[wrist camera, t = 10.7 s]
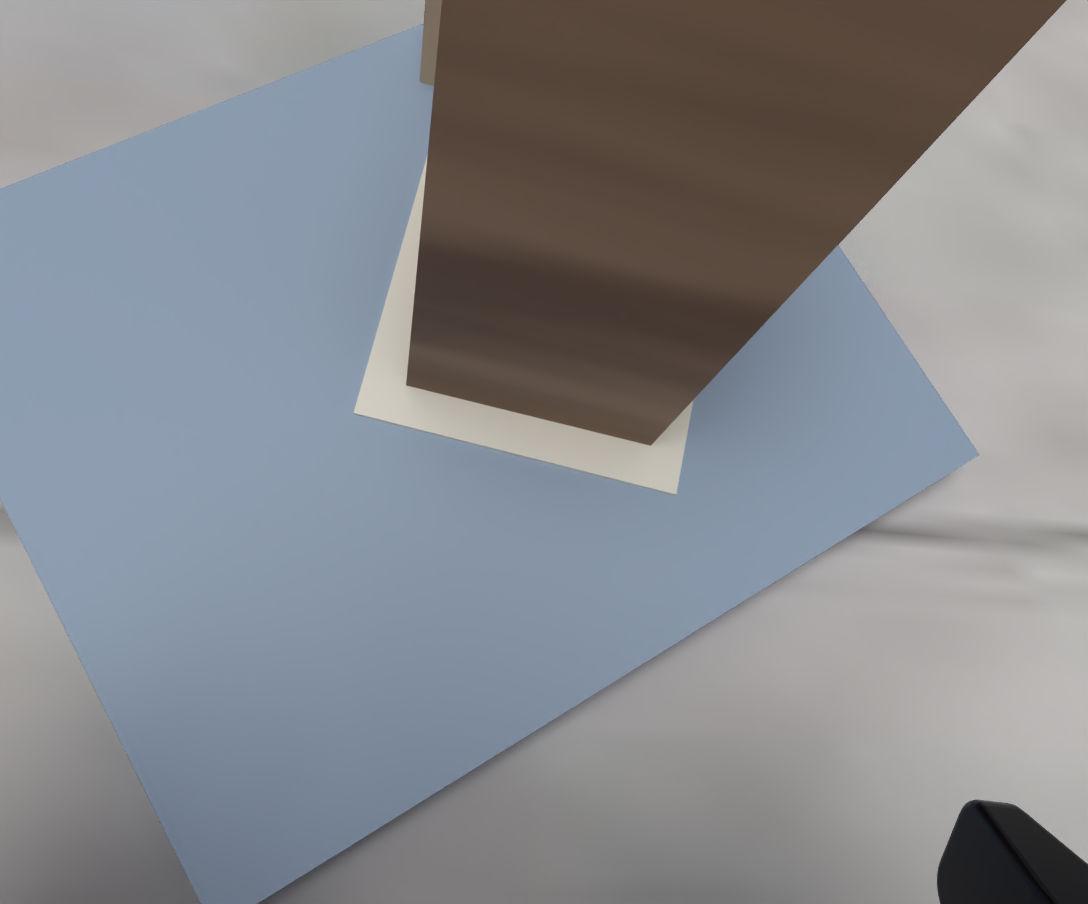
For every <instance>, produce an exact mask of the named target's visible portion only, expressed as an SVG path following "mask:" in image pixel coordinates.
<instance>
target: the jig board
mask: <svg viewBox="0 0 1088 904" xmlns="http://www.w3.org/2000/svg"><path fill="white" fill-rule="evenodd" d="M441 6H442V0H425V12H424V24H421V25H419V26H416V27H413V28H411V29H408V30H406V31H403V32H401V33H398V34H396V35H393V36H390V37H388V38H385V39H383V40H380V41H378V42H375V43H372V44H370V45H367V46H365V47H362V48H360V49H357V50H355V51H352V52H349V53H347V54H344V55H342V56H339V57H337V58H334V59H332V60H329V61H326V62H324V63H321V64H319V65H316V66H314V67H311V68H308V69H306V70H303V71H301V72H298V73H296V74H293V75H291V76H288V77H285V78H283V79H280V80H278V81H275V82H273V83H270V84H268V85H265V86H262V87H260V88H257V89H255V90H252V91H250V92H247V93H244V94H242V95H239V96H237V97H234V98H232V99H229V100H227V101H224V102H221V103H219V104H216V105H214V106H211V107H209V108H206V109H204V110H201V111H198V112H196V113H193V114H191V115H188V116H186V117H183V118H180V119H178V120H175V121H173V122H170V123H168V124H165V125H163V126H160V127H157V128H155V129H152V130H150V131H147V132H145V133H142V134H140V135H137V136H134V137H132V138H129V139H127V140H124V141H122V142H119V143H116V144H114V145H111V146H109V147H106V148H104V149H101V150H99V151H96V152H93V153H91V154H88V155H86V156H83V157H81V158H78V159H75V160H73V161H70V162H68V163H65V164H63V165H60V166H58V167H55V168H52V169H50V170H47V171H45V172H42V173H40V174H37V175H35V176H32V177H29V178H27V179H24V180H22V181H19V182H17V183H14V184H11V185H9V186H6V187H4V188H1V189H0V499H1V501H2V503H3V505H4V507H5V509H6V512H7V514H8V516H9V518H10V520H11V522H12V524H13V526H14V528H15V530H16V532H17V534H18V536H19V538H20V540H21V542H22V544H23V546H24V548H25V550H26V552H27V554H28V556H29V558H30V560H31V562H32V564H33V566H34V568H35V570H36V572H37V574H38V576H39V578H40V580H41V582H42V584H43V586H44V588H45V590H46V592H47V594H48V596H49V598H50V600H51V602H52V604H53V606H54V609H55V611H56V613H57V615H58V617H59V619H60V621H61V623H62V625H63V627H64V629H65V631H66V633H67V635H68V637H69V639H70V641H71V643H72V645H73V647H74V649H75V651H76V653H77V655H78V657H79V659H80V661H81V663H82V665H83V667H84V669H85V671H86V673H87V675H88V677H89V679H90V681H91V683H92V685H93V687H94V689H95V691H96V693H97V695H98V697H99V699H100V701H101V703H102V706H103V708H104V710H105V712H106V714H107V716H108V718H109V720H110V722H111V724H112V726H113V728H114V730H115V732H116V734H117V736H118V738H119V740H120V742H121V744H122V746H123V748H124V750H125V752H126V754H127V756H128V758H129V760H130V762H131V764H132V766H133V768H134V770H135V772H136V774H137V776H138V778H139V780H140V782H141V784H142V786H143V788H144V790H145V792H146V794H147V796H148V798H149V800H150V802H151V805H152V807H153V809H154V811H155V813H156V815H157V817H158V819H159V821H160V823H161V825H162V827H163V829H164V831H165V833H166V835H167V837H168V839H169V841H170V843H171V845H172V847H173V849H174V851H175V853H176V855H177V857H178V859H179V861H180V863H181V865H182V867H183V869H184V871H185V873H186V875H187V877H188V879H189V881H190V883H191V885H192V887H193V889H194V891H195V893H196V895H197V897H198V899H199V902H200V904H258V903H259V902H261V901H263V900H264V899H266V898H267V897H269V896H271V895H272V894H274V893H275V892H277V891H279V890H280V889H282V888H283V887H285V886H287V885H288V884H290V883H291V882H293V881H295V880H296V879H298V878H300V877H301V876H303V875H304V874H306V873H308V872H309V871H311V870H312V869H314V868H316V867H317V866H319V865H320V864H322V863H324V862H325V861H327V860H328V859H330V858H332V857H333V856H335V855H337V854H338V853H340V852H341V851H343V850H345V849H346V848H348V847H349V846H351V845H353V844H354V843H356V842H357V841H359V840H361V839H362V838H364V837H365V836H367V835H369V834H370V833H372V832H374V831H375V830H377V829H378V828H380V827H382V826H383V825H385V824H386V823H388V822H390V821H391V820H393V819H394V818H396V817H398V816H399V815H401V814H402V813H404V812H406V811H407V810H409V809H410V808H412V807H414V806H415V805H417V804H419V803H420V802H422V801H423V800H425V799H427V798H428V797H430V796H431V795H433V794H435V793H436V792H438V791H439V790H441V789H443V788H444V787H446V786H447V785H449V784H451V783H452V782H454V781H456V780H457V779H459V778H460V777H462V776H464V775H465V774H467V773H468V772H470V771H472V770H473V769H475V768H476V767H478V766H480V765H481V764H483V763H484V762H486V761H488V760H489V759H491V758H493V757H494V756H496V755H497V754H499V753H501V752H502V751H504V750H505V749H507V748H509V747H510V746H512V745H513V744H515V743H517V742H518V741H520V740H521V739H523V738H525V737H526V736H528V735H529V734H531V733H533V732H534V731H536V730H538V729H539V728H541V727H542V726H544V725H546V724H547V723H549V722H550V721H552V720H554V719H555V718H557V717H558V716H560V715H562V714H563V713H565V712H566V711H568V710H570V709H571V708H573V707H575V706H576V705H578V704H579V703H581V702H583V701H584V700H586V699H587V698H589V697H591V696H592V695H594V694H595V693H597V692H599V691H600V690H602V689H603V688H605V687H607V686H608V685H610V684H612V683H613V682H615V681H616V680H618V679H620V678H621V677H623V676H624V675H626V674H628V673H629V672H631V671H632V670H634V669H636V668H637V667H639V666H640V665H642V664H644V663H645V662H647V661H649V660H650V659H652V658H653V657H655V656H657V655H658V654H660V653H661V652H663V651H665V650H666V649H668V648H669V647H671V646H673V645H674V644H676V643H677V642H679V641H681V640H682V639H684V638H685V637H687V636H689V635H690V634H692V633H694V632H695V631H697V630H698V629H700V628H702V627H703V626H705V625H706V624H708V623H710V622H711V621H713V620H714V619H716V618H718V617H719V616H721V615H722V614H724V613H726V612H727V611H729V610H731V609H732V608H734V607H735V606H737V605H739V604H740V603H742V602H743V601H745V600H747V599H748V598H750V597H751V596H753V595H755V594H756V593H758V592H759V591H761V590H763V589H764V588H766V587H768V586H769V585H771V584H772V583H774V582H776V581H777V580H779V579H780V578H782V577H784V576H785V575H787V574H788V573H790V572H792V571H793V570H795V569H796V568H798V567H800V566H801V565H803V564H804V563H806V562H808V561H809V560H811V559H813V558H814V557H816V556H817V555H819V554H821V553H822V552H824V551H825V550H827V549H829V548H830V547H832V546H833V545H835V544H837V543H838V542H840V541H841V540H843V539H845V538H846V537H848V536H850V535H851V534H853V533H854V532H856V531H858V530H859V529H861V528H862V527H864V526H866V525H867V524H869V523H870V522H872V521H874V520H875V519H877V518H878V517H880V516H882V515H883V514H885V513H887V512H888V511H890V510H891V509H893V508H895V507H896V506H898V505H899V504H901V503H903V502H904V501H906V500H907V499H909V498H911V497H912V496H914V495H915V494H917V493H919V492H920V491H922V490H923V489H925V488H927V487H928V486H930V485H932V484H933V483H935V482H936V481H938V480H940V479H941V478H943V477H944V476H946V475H948V474H949V473H951V472H952V471H954V470H956V469H957V468H959V467H960V466H962V465H964V464H965V463H967V462H969V461H970V460H972V459H973V458H975V457H977V456H978V455H979V453H978V452H977V450H976V449H975V447H974V446H973V444H972V443H971V441H970V440H969V438H968V437H967V435H966V434H965V432H964V431H963V430H962V428H961V427H960V425H959V424H958V422H957V421H956V419H955V418H954V416H953V415H952V413H951V412H950V410H949V409H948V407H947V406H946V404H945V403H944V401H943V400H942V398H941V397H940V395H939V394H938V392H937V391H936V389H935V388H934V386H933V385H932V383H931V382H930V380H929V379H928V378H927V376H926V375H925V373H924V372H923V370H922V369H921V367H920V366H919V364H918V363H917V361H916V360H915V358H914V357H913V355H912V354H911V352H910V351H909V349H908V348H907V346H906V345H905V343H904V342H903V340H902V339H901V337H900V336H899V334H898V333H897V331H896V330H895V329H894V327H893V326H892V324H891V323H890V321H889V320H888V318H887V317H886V315H885V314H884V312H883V311H882V309H881V308H880V306H879V305H878V303H877V302H876V300H875V299H874V297H873V296H872V294H871V293H870V291H869V290H868V288H867V287H866V285H865V284H864V282H863V281H862V279H861V278H860V277H859V275H858V274H857V272H856V271H855V269H854V268H853V266H852V265H851V263H850V262H849V260H848V259H847V257H846V256H845V254H844V253H843V251H842V250H841V248H840V247H839V245H837V247H836V248H835V249H834V250H833V251H832V252H831V253H830V254H829V255H828V256H827V257H826V258H825V259H824V260H823V262H822V263H821V264H820V265H819V266H818V267H817V268H816V269H815V270H814V271H813V272H812V273H811V274H810V275H809V277H808V278H807V279H806V280H805V281H804V282H803V283H802V284H801V285H800V286H799V287H798V288H797V289H796V290H795V292H794V293H793V294H792V295H791V296H790V297H789V298H788V299H787V300H786V301H785V302H784V303H783V304H782V305H781V307H780V308H779V309H778V310H777V311H776V312H775V313H774V314H773V315H772V316H771V317H770V318H769V319H768V321H767V322H766V323H765V324H764V325H763V326H762V327H761V328H760V329H759V330H758V331H757V332H756V333H755V334H754V336H753V337H752V338H751V339H750V340H749V341H748V342H747V343H746V344H745V345H744V346H743V347H742V348H741V349H740V351H739V352H738V353H737V354H736V355H735V356H734V357H733V358H732V359H731V360H730V361H729V362H728V363H727V364H726V366H725V367H724V368H723V369H722V370H721V371H720V372H719V373H718V374H717V375H716V376H715V377H714V378H713V379H712V381H711V382H710V383H709V384H708V385H707V386H706V387H705V388H704V389H703V390H702V391H701V392H700V393H699V394H698V396H697V397H696V398H695V399H694V400H693V401H692V402H691V403H690V404H689V405H688V406H687V407H686V408H685V409H684V411H683V412H682V413H681V414H680V415H679V416H678V417H677V418H676V419H675V420H674V421H673V422H672V423H671V424H670V426H669V427H668V428H667V429H666V430H665V431H664V432H663V433H662V434H661V435H660V436H659V437H658V438H657V439H656V441H655V442H654V443H653V444H652V445H651V446H650V445H646V444H641V443H637V442H633V441H629V440H625V439H621V438H617V437H613V436H609V435H605V434H601V433H597V432H593V431H589V430H585V429H581V428H577V427H573V426H568V425H564V424H560V423H556V422H552V421H548V420H544V419H540V418H536V417H532V416H528V415H524V414H520V413H516V412H512V411H508V410H504V409H500V408H496V407H491V406H487V405H483V404H479V403H475V402H471V401H467V400H463V399H459V398H455V397H451V396H447V395H443V394H439V393H435V392H431V391H427V390H423V389H419V388H414V387H410V386H406V380H407V369H408V358H409V348H410V337H411V326H412V316H413V305H414V294H415V284H416V273H417V262H418V251H419V241H420V230H421V219H422V209H423V198H424V187H425V177H426V166H427V155H428V145H429V134H430V123H431V113H432V102H433V91H434V81H435V70H436V59H437V48H438V38H439V27H440V16H441Z"/></svg>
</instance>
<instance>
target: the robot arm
mask: <svg viewBox="0 0 1088 904" xmlns="http://www.w3.org/2000/svg"><path fill="white" fill-rule="evenodd" d="M937 888H938V895H939V900H940V904H1088V864H1087V863H1086V862H1085V861H1083V860H1082V859H1081V858H1080V857H1079V856H1077V855H1076V854H1075V853H1074V852H1072V851H1071V850H1070V849H1069V848H1068V847H1066V846H1065V845H1064V844H1063V843H1062V842H1060V841H1059V840H1058V839H1057V838H1056V837H1054V836H1053V835H1052V834H1051V833H1050V832H1048V831H1047V830H1046V829H1045V828H1043V827H1042V826H1041V825H1040V824H1039V823H1037V822H1036V821H1035V820H1034V819H1033V818H1031V817H1030V816H1029V815H1028V814H1027V813H1025V812H1024V811H1023V810H1021V809H1020V808H1019V807H1017V806H1015V805H1013V804H1009V803H1002V802H993V801H984V800H972V801H969V802H967V803H966V804H965V805H964V806H963V808H962V810H961V812H960V814H959V816H958V819H957V821H956V823H955V826H954V828H953V831H952V833H951V836H950V838H949V841H948V843H947V846H946V848H945V851H944V853H943V856H942V858H941V861H940V864H939V867H938V873H937Z"/></svg>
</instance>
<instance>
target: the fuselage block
mask: <svg viewBox="0 0 1088 904" xmlns="http://www.w3.org/2000/svg"><path fill="white" fill-rule="evenodd" d="M1065 1H1066V0H442V6H441V16H440V27H439V38H438V48H437V59H436V70H435V81H434V91H433V102H432V113H431V123H430V134H429V145H428V155H427V166H426V177H425V187H424V198H423V209H422V219H421V230H420V241H419V251H418V262H417V273H416V284H415V294H414V305H413V316H412V326H411V337H410V348H409V358H408V369H407V380H406V386H410V387H414V388H419V389H423V390H427V391H431V392H435V393H439V394H443V395H447V396H451V397H455V398H459V399H463V400H467V401H471V402H475V403H479V404H483V405H487V406H491V407H496V408H500V409H504V410H508V411H512V412H516V413H520V414H524V415H528V416H532V417H536V418H540V419H544V420H548V421H552V422H556V423H560V424H564V425H568V426H573V427H577V428H581V429H585V430H589V431H593V432H597V433H601V434H605V435H609V436H613V437H617V438H621V439H625V440H629V441H633V442H637V443H641V444H646V445H650V446H651V445H652V444H653V443H654V442H655V441H656V439H657V438H658V437H659V436H660V435H661V434H662V433H663V432H664V431H665V430H666V429H667V428H668V427H669V426H670V424H671V423H672V422H673V421H674V420H675V419H676V418H677V417H678V416H679V415H680V414H681V413H682V412H683V411H684V409H685V408H686V407H687V406H688V405H689V404H690V403H691V402H692V401H693V400H694V399H695V398H696V397H697V396H698V394H699V393H700V392H701V391H702V390H703V389H704V388H705V387H706V386H707V385H708V384H709V383H710V382H711V381H712V379H713V378H714V377H715V376H716V375H717V374H718V373H719V372H720V371H721V370H722V369H723V368H724V367H725V366H726V364H727V363H728V362H729V361H730V360H731V359H732V358H733V357H734V356H735V355H736V354H737V353H738V352H739V351H740V349H741V348H742V347H743V346H744V345H745V344H746V343H747V342H748V341H749V340H750V339H751V338H752V337H753V336H754V334H755V333H756V332H757V331H758V330H759V329H760V328H761V327H762V326H763V325H764V324H765V323H766V322H767V321H768V319H769V318H770V317H771V316H772V315H773V314H774V313H775V312H776V311H777V310H778V309H779V308H780V307H781V305H782V304H783V303H784V302H785V301H786V300H787V299H788V298H789V297H790V296H791V295H792V294H793V293H794V292H795V290H796V289H797V288H798V287H799V286H800V285H801V284H802V283H803V282H804V281H805V280H806V279H807V278H808V277H809V275H810V274H811V273H812V272H813V271H814V270H815V269H816V268H817V267H818V266H819V265H820V264H821V263H822V262H823V260H824V259H825V258H826V257H827V256H828V255H829V254H830V253H831V252H832V251H833V250H834V249H835V248H836V247H837V245H838V244H839V243H840V242H841V241H842V240H843V239H844V238H845V237H846V236H847V235H848V234H849V233H850V232H851V230H852V229H853V228H854V227H855V226H856V225H857V224H858V223H859V222H860V221H861V220H862V219H863V218H864V217H865V215H866V214H867V213H868V212H869V211H870V210H871V209H872V208H873V207H874V206H875V205H876V204H877V203H878V202H879V200H880V199H881V198H882V197H883V196H884V195H885V194H886V193H887V192H888V191H889V190H890V189H891V188H892V187H893V185H894V184H895V183H896V182H897V181H898V180H899V179H900V178H901V177H902V176H903V175H904V174H905V173H906V172H907V170H908V169H909V168H910V167H911V166H912V165H913V164H914V163H915V162H916V161H917V160H918V159H919V158H920V157H921V155H922V154H923V153H924V152H925V151H926V150H927V149H928V148H929V147H930V146H931V145H932V144H933V143H934V142H935V140H936V139H937V138H938V137H939V136H940V135H941V134H942V133H943V132H944V131H945V130H946V129H947V128H948V126H949V125H950V124H951V123H952V122H953V121H954V120H955V119H956V118H957V117H958V116H959V115H960V114H961V113H962V111H963V110H964V109H965V108H966V107H967V106H968V105H969V104H970V103H971V102H972V101H973V100H974V99H975V98H976V96H977V95H978V94H979V93H980V92H981V91H982V90H983V89H984V88H985V87H986V86H987V85H988V84H989V83H990V81H991V80H992V79H993V78H994V77H995V76H996V75H997V74H998V73H999V72H1000V71H1001V70H1002V69H1003V68H1004V66H1005V65H1006V64H1007V63H1008V62H1009V61H1010V60H1011V59H1012V58H1013V57H1014V56H1015V55H1016V54H1017V53H1018V51H1019V50H1020V49H1021V48H1022V47H1023V46H1024V45H1025V44H1026V43H1027V42H1028V41H1029V40H1030V39H1031V38H1032V36H1033V35H1034V34H1035V33H1036V32H1037V31H1038V30H1039V29H1040V28H1041V27H1042V26H1043V25H1044V24H1045V23H1046V21H1047V20H1048V19H1049V18H1050V17H1051V16H1052V15H1053V14H1054V13H1055V12H1056V11H1057V10H1058V9H1059V8H1060V6H1061V5H1062V4H1063V3H1064V2H1065Z"/></svg>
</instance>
